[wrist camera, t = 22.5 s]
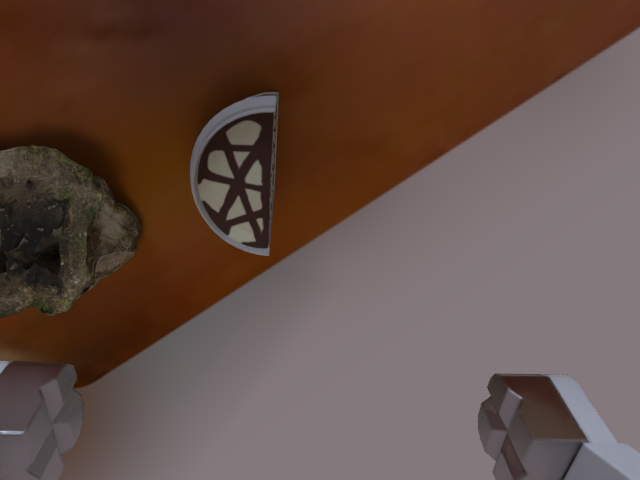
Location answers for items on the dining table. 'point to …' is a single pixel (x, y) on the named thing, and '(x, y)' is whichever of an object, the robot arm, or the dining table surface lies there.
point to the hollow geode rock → (57, 230)
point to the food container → (238, 172)
